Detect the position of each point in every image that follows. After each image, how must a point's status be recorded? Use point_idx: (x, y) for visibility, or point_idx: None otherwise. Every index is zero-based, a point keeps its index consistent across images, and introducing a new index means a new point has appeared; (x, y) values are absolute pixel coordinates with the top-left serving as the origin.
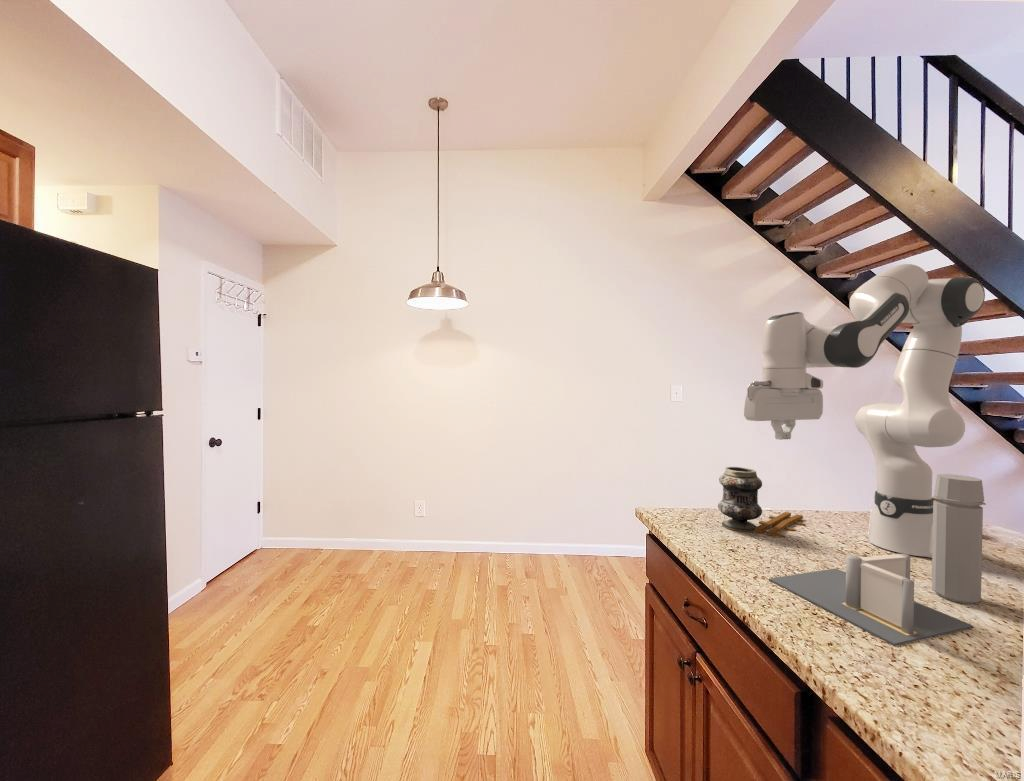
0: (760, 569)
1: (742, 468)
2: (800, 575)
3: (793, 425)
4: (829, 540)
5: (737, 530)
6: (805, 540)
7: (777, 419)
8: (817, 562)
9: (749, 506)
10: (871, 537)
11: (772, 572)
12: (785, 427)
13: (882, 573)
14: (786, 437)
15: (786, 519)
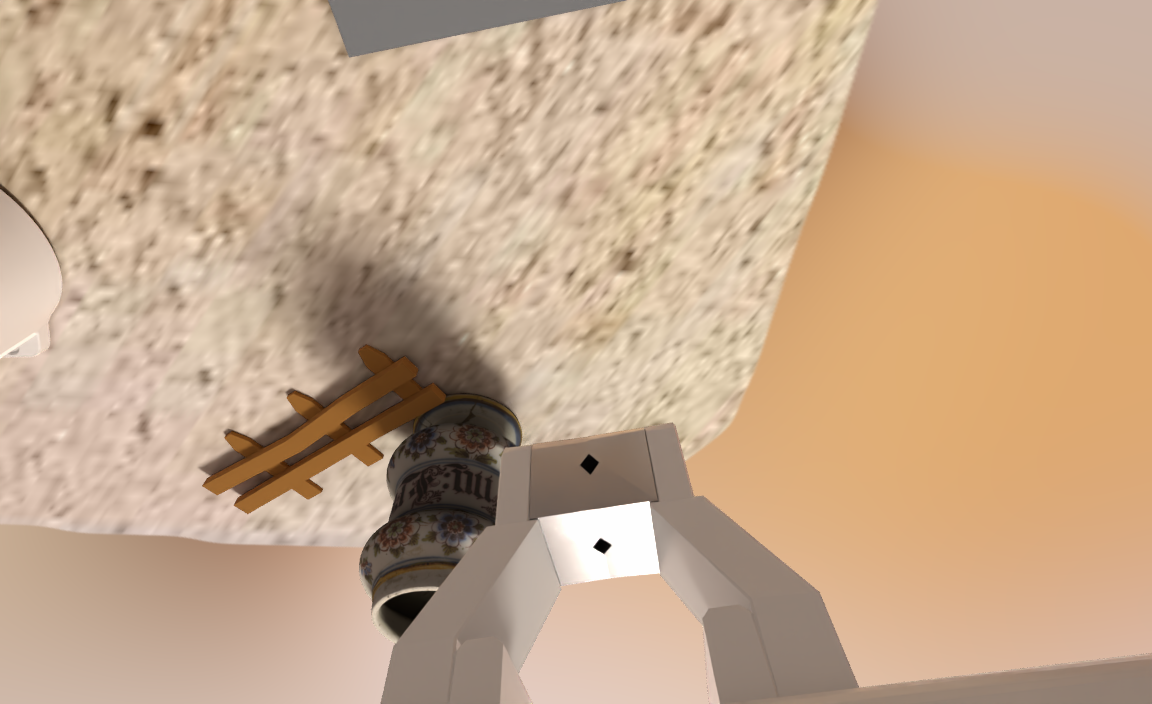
0: (643, 92)
1: None
2: (541, 2)
3: (441, 628)
4: (212, 314)
5: (499, 403)
6: (304, 320)
7: (1018, 689)
8: (380, 133)
9: (451, 459)
10: (43, 293)
11: (617, 60)
12: (525, 634)
13: None
14: (583, 448)
15: (282, 459)
